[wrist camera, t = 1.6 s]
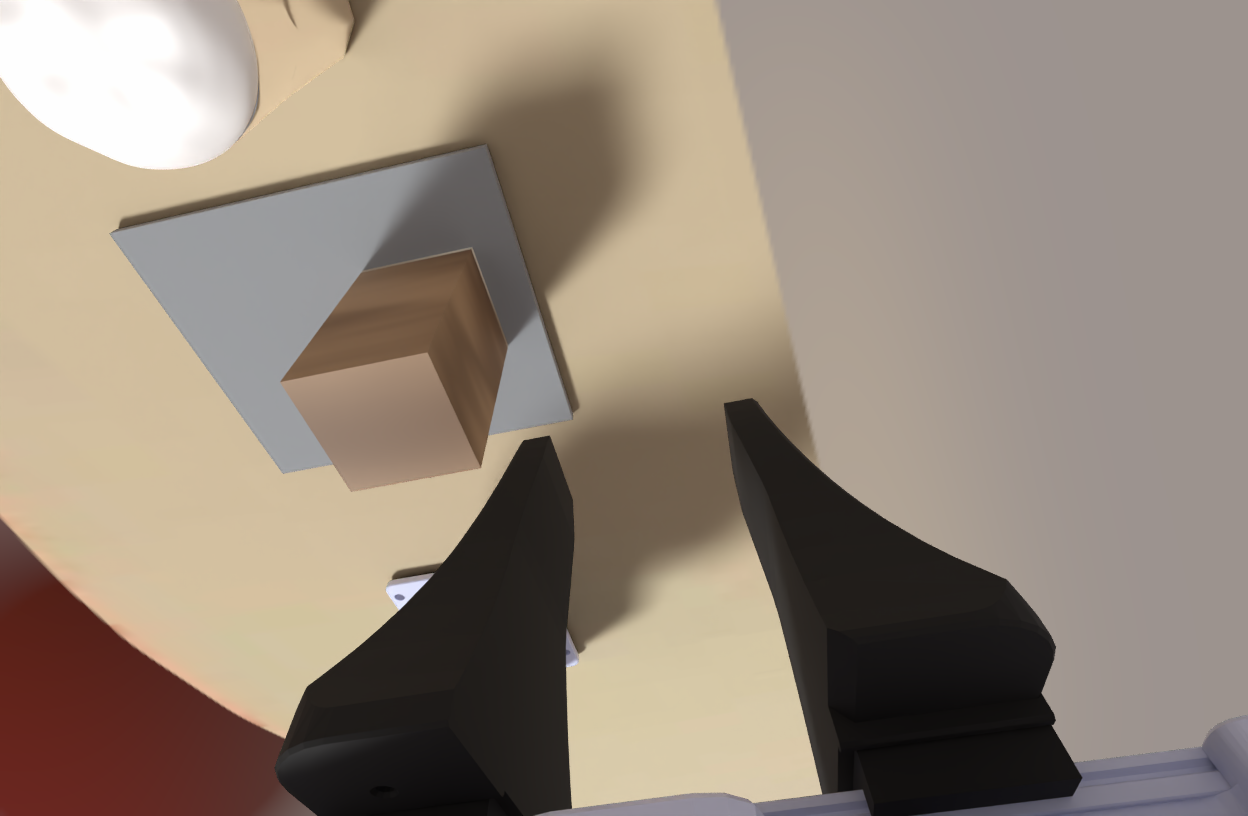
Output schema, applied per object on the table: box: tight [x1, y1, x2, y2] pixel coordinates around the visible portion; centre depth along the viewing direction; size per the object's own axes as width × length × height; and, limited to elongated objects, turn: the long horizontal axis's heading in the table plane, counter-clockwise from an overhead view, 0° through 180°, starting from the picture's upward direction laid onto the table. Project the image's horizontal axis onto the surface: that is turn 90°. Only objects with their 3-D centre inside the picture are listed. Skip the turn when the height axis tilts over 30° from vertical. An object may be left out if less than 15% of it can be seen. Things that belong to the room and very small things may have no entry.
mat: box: [109, 144, 573, 474], centre depth 23 cm, size 11×13×1 cm
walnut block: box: [280, 247, 508, 492], centre depth 20 cm, size 4×4×7 cm
